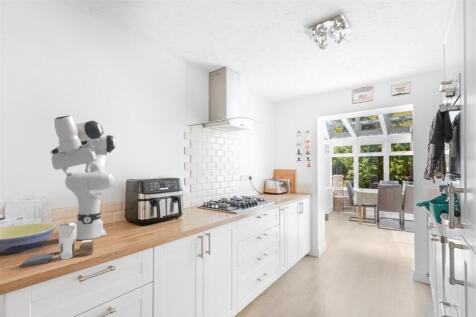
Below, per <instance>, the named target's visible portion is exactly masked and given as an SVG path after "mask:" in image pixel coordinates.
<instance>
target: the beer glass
mask: <svg viewBox="0 0 476 317" xmlns="http://www.w3.org/2000/svg"><path fill="white" fill-rule="evenodd" d="M58 226H59V228H58V234H57V235H58V236H57V237H58V244H59V255H58V259H59V260H68V259H71V258H74V257H75V256H76V252H75V245H76V241H77V239H76V237H77V223H76V222H67V223H66V222H65V223H61V224H59V225H58Z"/></svg>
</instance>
